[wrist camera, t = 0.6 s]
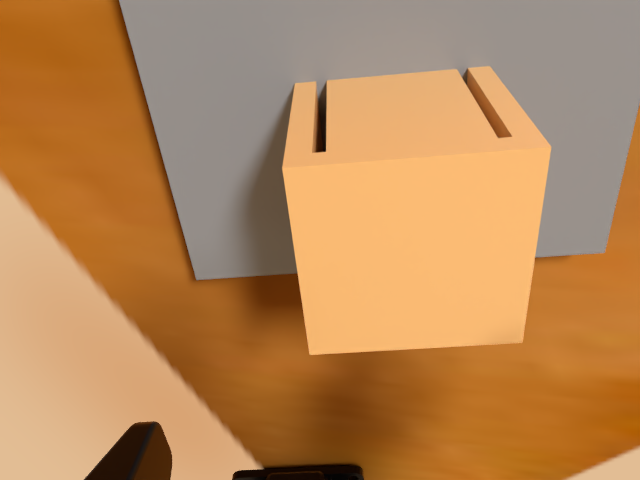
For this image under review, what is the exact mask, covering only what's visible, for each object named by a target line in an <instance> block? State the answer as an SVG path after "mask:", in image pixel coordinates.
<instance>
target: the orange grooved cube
mask: <svg viewBox="0 0 640 480" xmlns="http://www.w3.org/2000/svg"><path fill="white" fill-rule="evenodd" d="M550 153H551V146H550V144H549V143H548V142H547V140H546V139H545V138H544V136H543V135H542V134H541V132H540V131H539V130H538V129H537V127H536V126H535V125H534V123H533V122H532V121H531V119H530V118H529V117H528V115H527V114H526V113H525V111H524V110H523V109H522V108H521V106H520V105H519V104H518V102H517V101H516V100H515V98H514V97H513V96H512V94H511V93H510V92H509V90H508V89H507V88H506V87H505V85H504V84H503V83H502V81H501V80H500V79H499V77H498V76H497V75H496V73H495V72H494V71H493V70H492V68H491V67H490V66H485V67H473V68H468V73H467V85H466V84H465V82H464V80H463V79H462V77H461V75H460V74H459V72H458V70H457V69H451V70H439V71H428V72H417V73H406V74H394V75H383V76H372V77H360V78H349V79H338V80H327V109H326V152H323V145H322V135H321V125H320V115H319V105H318V95H317V85H316V81H315V82H304V83H295V86H294V92H293V99H292V106H291V112H290V119H289V126H288V133H287V139H286V146H285V153H284V159H283V166H282V170H283V177H284V184H285V191H286V198H287V204H288V211H289V218H290V225H291V232H292V238H293V245H294V252H295V259H296V266H297V272H298V279H299V286H300V293H301V300H302V307H303V313H304V320H305V327H306V334H307V341H308V347H309V354H310V355H317V354H335V353H352V352H369V351H387V350H404V349H422V348H439V347H457V346H474V345H491V344H509V343H522V342H523V335H524V328H525V322H526V315H527V308H528V301H529V295H530V288H531V281H532V274H533V268H534V261H535V254H536V247H537V241H538V234H539V227H540V221H541V214H542V207H543V200H544V194H545V187H546V180H547V173H548V167H549V160H550Z"/></svg>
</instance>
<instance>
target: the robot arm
mask: <svg viewBox="0 0 640 480" xmlns="http://www.w3.org/2000/svg"><path fill="white" fill-rule="evenodd" d="M171 469H172V454H171V450H170V447H169V445H168V442H167V440H166V437H165V435H164V432H163V430H162V427H161V425H160V424H159V423H157V422H139V423H135V424H133V425H132V426H131V427H130V428H129V429H128V430H127V431H126V432H125V433H124V434H123V436H122V437H121V438H120V439H119V440H118V441H117V442H116V444H115V445H114V446H113V447H112V448H111V449H110V451H109V452H108V453H107V454H106V455H105V456H104V457H103V458H102V460H101V461H100V462H99V463H98V464H97V465H96V466H95V468H94V469H93V470H92V471H91V472H90V473H89V475H88V476H87V477H86V478H85V479H84V480H170V477H171ZM232 480H364V476H363V470H362V468H360V467H358V466H330V467H308V468H285V469H263V470H241V471H237V472H235V473H234V474H233V479H232Z"/></svg>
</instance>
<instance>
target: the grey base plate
mask: <svg viewBox="0 0 640 480" xmlns="http://www.w3.org/2000/svg"><path fill="white" fill-rule="evenodd" d="M119 2H120V6H121V9H122V13H123V17H124V20H125V24H126V27H127V31H128V35H129V38H130V42H131V46H132V49H133V53H134V56H135V60H136V64H137V67H138V71H139V75H140V78H141V82H142V85H143V89H144V93H145V96H146V100H147V103H148V107H149V111H150V114H151V118H152V122H153V125H154V129H155V132H156V136H157V140H158V143H159V147H160V150H161V154H162V158H163V161H164V165H165V169H166V172H167V176H168V179H169V183H170V187H171V190H172V194H173V197H174V201H175V205H176V208H177V212H178V216H179V219H180V223H181V226H182V230H183V234H184V237H185V241H186V245H187V248H188V252H189V255H190V259H191V263H192V266H193V270H194V273H195V277H196V280H205V279H220V278H235V277H250V276H265V275H280V274H295V273H298V272H297V266H296V259H295V252H294V245H293V238H292V232H291V225H290V218H289V211H288V204H287V198H286V191H285V184H284V177H283V170H282V166H283V159H284V153H285V146H286V139H287V133H288V126H289V119H290V112H291V106H292V99H293V92H294V86H295V83H304V82H315V81H316V85H317V95H318V105H319V115H320V125H321V135H322V145H323V152H326V109H327V80H338V79H349V78H360V77H372V76H383V75H394V74H406V73H417V72H428V71H439V70H451V69H457V70H458V72H459V74H460V75H461V77H462V79H463V80H464V82H465V84H466V85H467V73H468V68H473V67H485V66H490V67H491V68H492V70H493V71H494V72H495V73H496V75H497V76H498V77H499V79H500V80H501V81H502V83H503V84H504V85H505V87H506V88H507V89H508V90H509V92H510V93H511V94H512V96H513V97H514V98H515V100H516V101H517V102H518V104H519V105H520V106H521V108H522V109H523V110H524V111H525V113H526V114H527V115H528V117H529V118H530V119H531V121H532V122H533V123H534V125H535V126H536V127H537V129H538V130H539V131H540V132H541V134H542V135H543V136H544V138H545V139H546V140H547V142H548V143H549V144H550V146H551V153H550V160H549V167H548V173H547V180H546V187H545V194H544V200H543V207H542V214H541V221H540V227H539V234H538V241H537V247H536V254H535V257H549V256H564V255H579V254H594V253H605V249H606V245H607V240H608V236H609V232H610V227H611V223H612V219H613V215H614V210H615V206H616V202H617V197H618V193H619V189H620V185H621V180H622V176H623V172H624V167H625V163H626V159H627V154H628V150H629V146H630V142H631V137H632V133H633V129H634V124H635V120H636V116H637V112H638V107H639V103H640V0H119Z"/></svg>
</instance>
